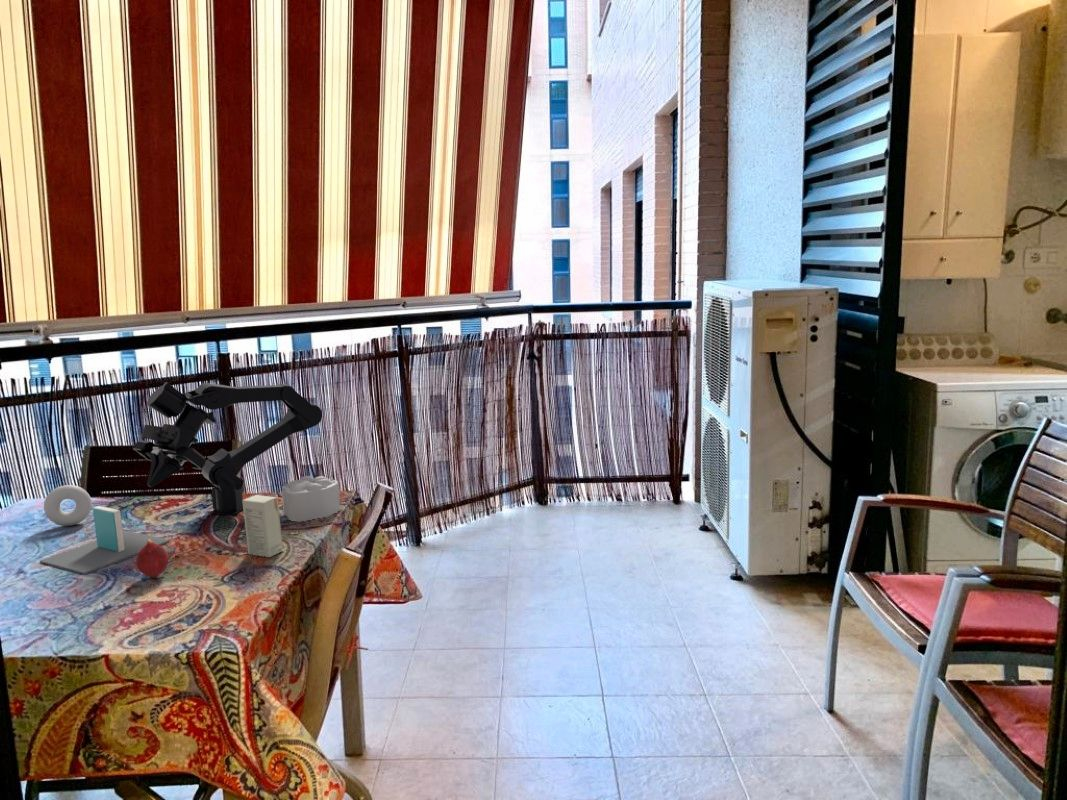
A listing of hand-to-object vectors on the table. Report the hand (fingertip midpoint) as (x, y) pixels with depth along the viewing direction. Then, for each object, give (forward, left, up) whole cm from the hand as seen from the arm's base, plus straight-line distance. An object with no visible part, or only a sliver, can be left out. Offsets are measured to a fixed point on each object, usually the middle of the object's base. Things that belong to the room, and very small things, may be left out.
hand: (149, 486), depth 181 cm
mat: (+3, +12, -11) cm, 17 cm away
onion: (-17, +22, -12) cm, 30 cm away
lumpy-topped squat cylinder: (-30, -20, -12) cm, 38 cm away
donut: (+24, -2, -12) cm, 27 cm away
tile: (+3, +11, -6) cm, 13 cm away
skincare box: (-32, +6, -12) cm, 35 cm away
